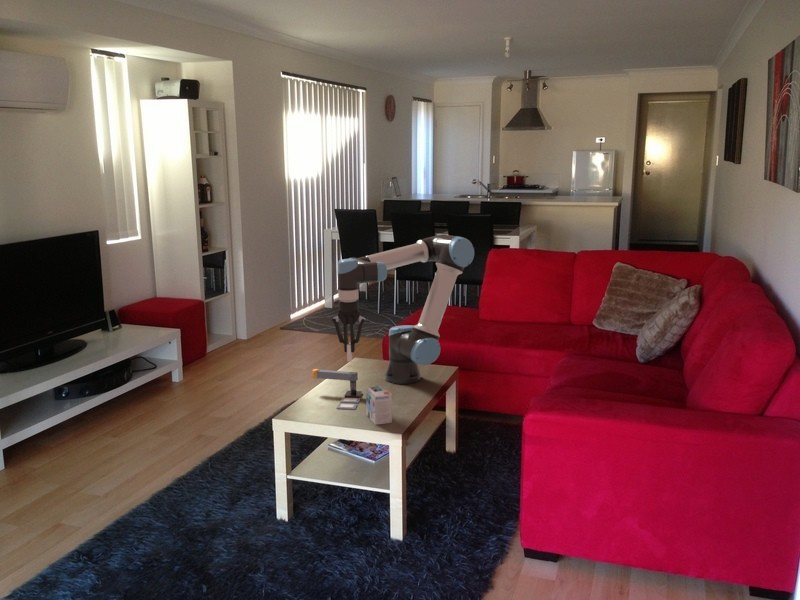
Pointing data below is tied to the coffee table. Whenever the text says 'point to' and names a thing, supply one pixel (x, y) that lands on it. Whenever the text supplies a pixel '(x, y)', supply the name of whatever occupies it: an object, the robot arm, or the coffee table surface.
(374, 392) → the light bulb box
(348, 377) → the cable arm
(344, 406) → the label
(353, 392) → the post
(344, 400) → the label
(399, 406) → the coffee table surface
